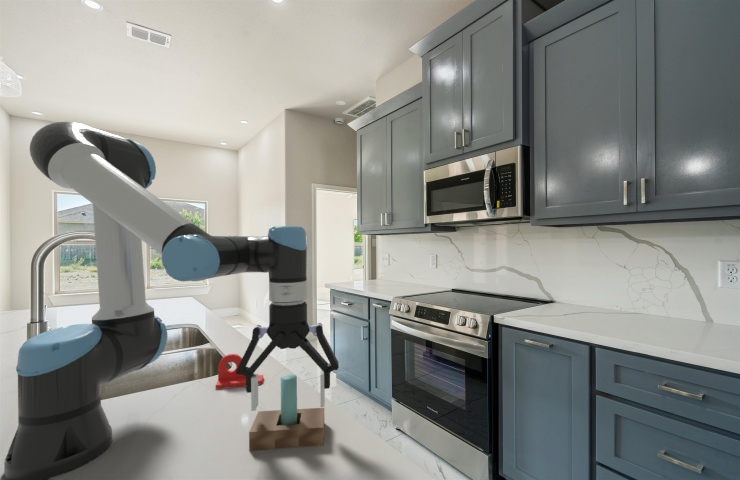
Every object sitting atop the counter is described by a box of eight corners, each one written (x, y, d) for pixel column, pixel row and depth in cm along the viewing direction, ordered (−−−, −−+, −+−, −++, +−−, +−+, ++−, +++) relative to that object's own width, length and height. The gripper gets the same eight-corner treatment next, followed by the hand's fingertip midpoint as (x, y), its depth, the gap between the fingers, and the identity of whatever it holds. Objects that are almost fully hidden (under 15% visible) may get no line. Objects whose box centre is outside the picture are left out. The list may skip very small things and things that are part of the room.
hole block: (249, 450, 66) (249, 432, 66) (258, 427, 74) (258, 411, 74) (323, 445, 67) (323, 427, 67) (324, 423, 75) (324, 407, 75)
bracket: (215, 389, 93) (215, 360, 93) (219, 382, 98) (218, 354, 98) (261, 385, 96) (261, 356, 96) (263, 378, 100) (263, 351, 100)
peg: (279, 441, 69) (279, 381, 69) (282, 432, 72) (282, 374, 72) (296, 440, 69) (295, 380, 69) (298, 431, 72) (297, 374, 72)
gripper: (218, 307, 66) (219, 418, 66) (350, 303, 68) (351, 411, 68) (230, 300, 73) (231, 400, 73) (348, 297, 76) (349, 394, 76)
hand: (289, 405), depth 71 cm, fingers open, 13 cm apart
